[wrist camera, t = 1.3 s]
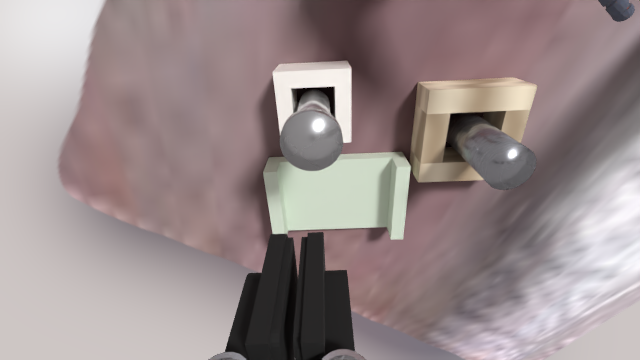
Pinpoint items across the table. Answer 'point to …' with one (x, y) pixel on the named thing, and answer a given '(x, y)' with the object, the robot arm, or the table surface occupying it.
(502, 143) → the grey round peg
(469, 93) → the socket
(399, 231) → the tray
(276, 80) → the housing
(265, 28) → the table surface
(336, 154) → the grey ball-topped peg
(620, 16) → the toy drill
